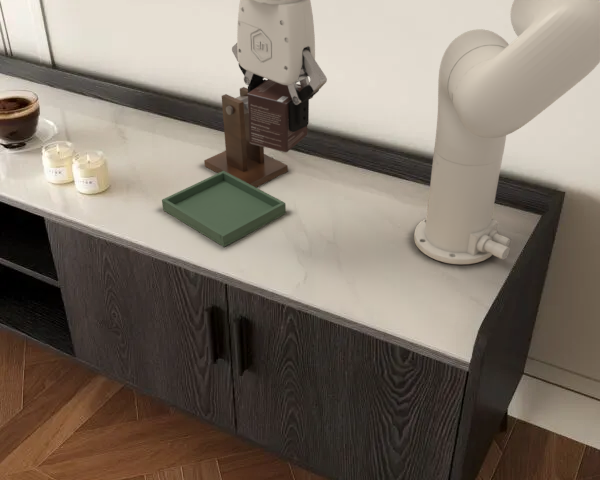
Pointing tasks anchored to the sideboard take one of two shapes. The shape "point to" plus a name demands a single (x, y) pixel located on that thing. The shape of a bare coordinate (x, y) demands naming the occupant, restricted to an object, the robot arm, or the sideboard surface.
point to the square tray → (224, 207)
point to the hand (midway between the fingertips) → (278, 118)
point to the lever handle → (245, 100)
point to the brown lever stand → (242, 148)
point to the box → (272, 117)
